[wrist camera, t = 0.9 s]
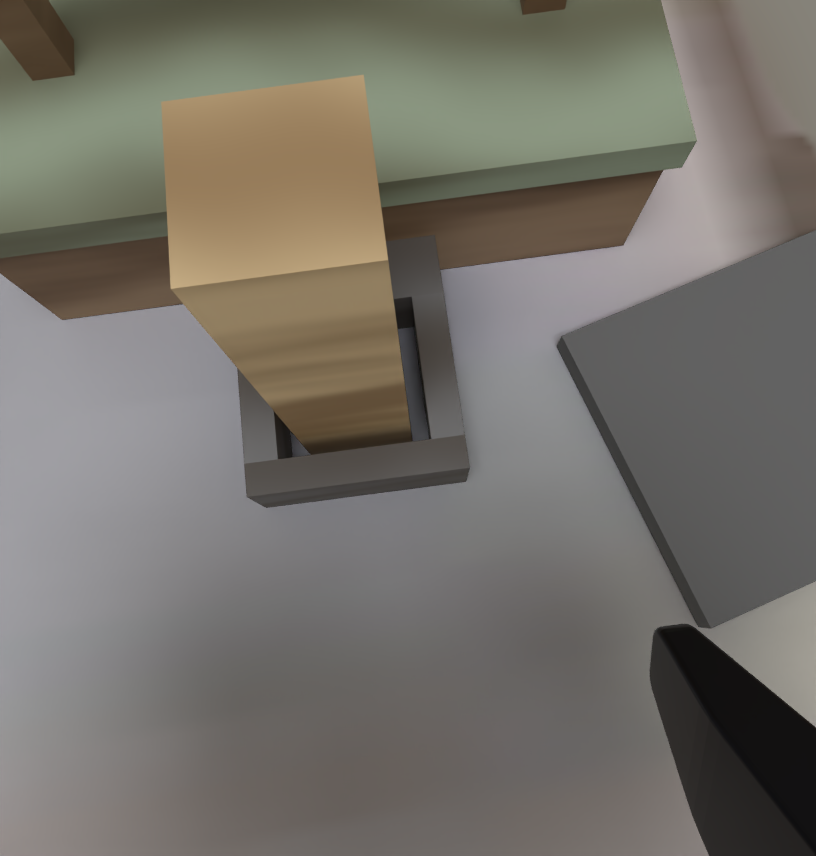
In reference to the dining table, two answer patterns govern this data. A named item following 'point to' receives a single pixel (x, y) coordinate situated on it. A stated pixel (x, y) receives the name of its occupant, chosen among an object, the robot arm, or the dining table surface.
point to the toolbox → (393, 149)
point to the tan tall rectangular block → (290, 254)
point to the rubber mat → (716, 424)
